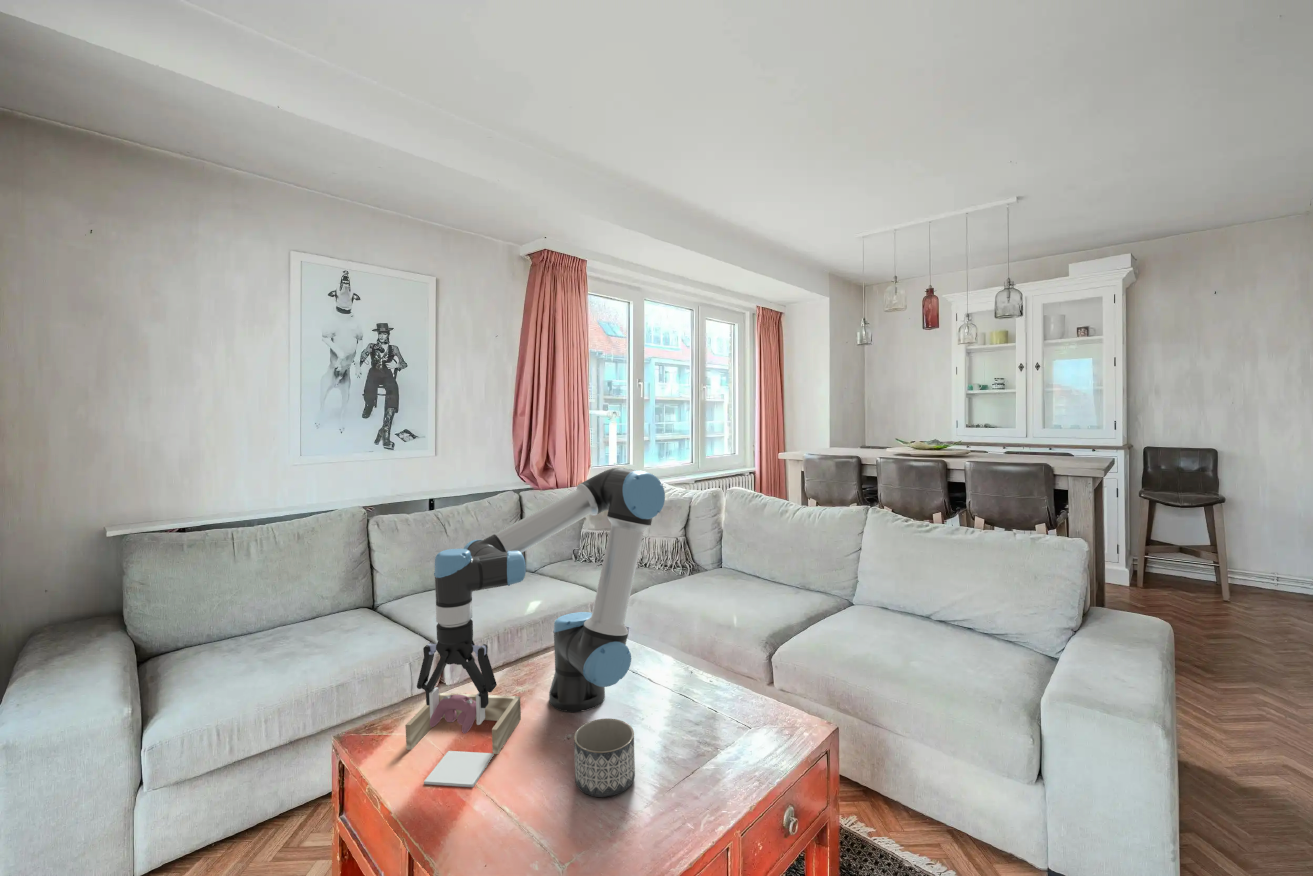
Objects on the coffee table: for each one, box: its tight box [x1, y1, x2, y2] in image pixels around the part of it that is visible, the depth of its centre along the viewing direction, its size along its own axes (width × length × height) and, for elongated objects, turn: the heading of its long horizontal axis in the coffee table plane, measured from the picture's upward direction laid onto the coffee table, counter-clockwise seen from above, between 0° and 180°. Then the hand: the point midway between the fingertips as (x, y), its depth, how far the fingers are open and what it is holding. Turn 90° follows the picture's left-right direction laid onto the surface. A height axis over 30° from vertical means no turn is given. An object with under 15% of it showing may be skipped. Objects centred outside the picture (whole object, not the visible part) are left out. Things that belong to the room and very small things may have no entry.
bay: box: [405, 692, 522, 755], centre depth 142 cm, size 22×15×6 cm
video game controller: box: [430, 695, 476, 734], centre depth 126 cm, size 10×5×7 cm, turn 71°
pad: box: [423, 750, 495, 788], centre depth 128 cm, size 11×11×1 cm
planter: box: [573, 718, 636, 798], centre depth 123 cm, size 13×13×10 cm
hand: (457, 720), depth 128 cm, fingers closed on video game controller, 10 cm apart
